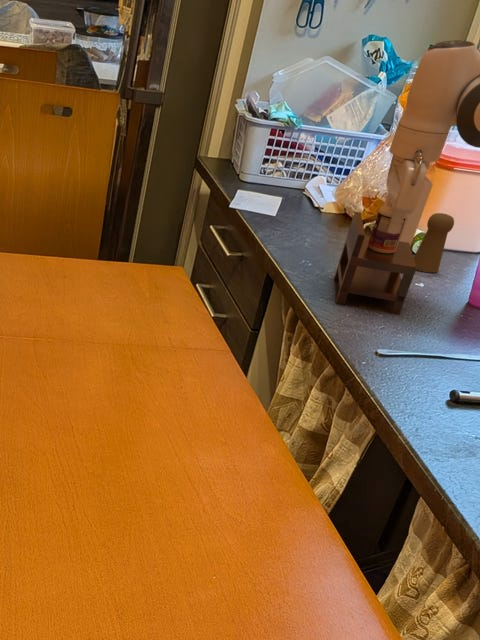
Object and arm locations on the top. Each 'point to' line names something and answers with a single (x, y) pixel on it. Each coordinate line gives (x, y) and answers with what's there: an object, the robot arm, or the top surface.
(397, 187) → the robot arm
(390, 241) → the pill bottle
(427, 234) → the brown pawn
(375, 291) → the brown chair
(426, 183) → the milk
